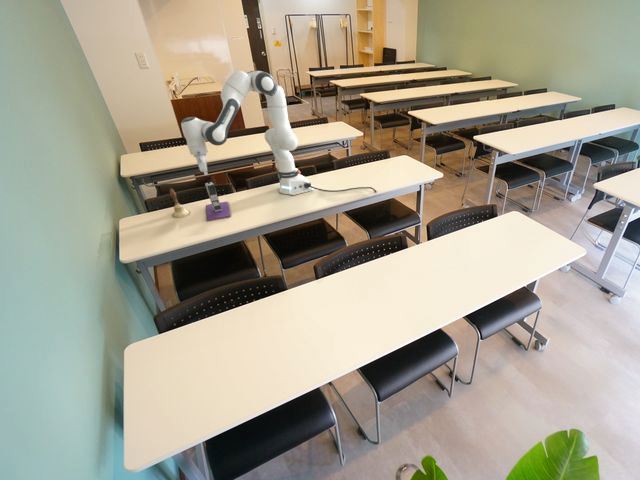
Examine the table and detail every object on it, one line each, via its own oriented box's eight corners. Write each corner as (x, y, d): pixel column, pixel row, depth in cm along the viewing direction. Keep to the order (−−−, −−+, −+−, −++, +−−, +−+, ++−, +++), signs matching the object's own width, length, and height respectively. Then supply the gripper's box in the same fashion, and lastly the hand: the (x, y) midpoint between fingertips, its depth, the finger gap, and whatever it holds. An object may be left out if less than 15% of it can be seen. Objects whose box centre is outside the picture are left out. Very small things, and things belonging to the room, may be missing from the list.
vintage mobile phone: (215, 212, 203) (202, 171, 188) (213, 209, 206) (200, 169, 191) (222, 210, 204) (209, 170, 190) (220, 207, 208) (207, 167, 193)
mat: (227, 202, 216) (227, 201, 216) (230, 216, 200) (230, 215, 200) (206, 206, 212) (206, 204, 211) (208, 220, 196) (207, 219, 195)
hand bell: (169, 216, 200) (159, 190, 191) (181, 210, 206) (171, 185, 197) (180, 218, 198) (170, 192, 189) (192, 212, 204) (182, 187, 195)
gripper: (205, 154, 178) (213, 179, 186) (204, 144, 193) (211, 168, 201) (191, 155, 176) (200, 181, 184) (191, 145, 191) (199, 169, 199)
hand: (206, 174), depth 193 cm, fingers closed on vintage mobile phone
